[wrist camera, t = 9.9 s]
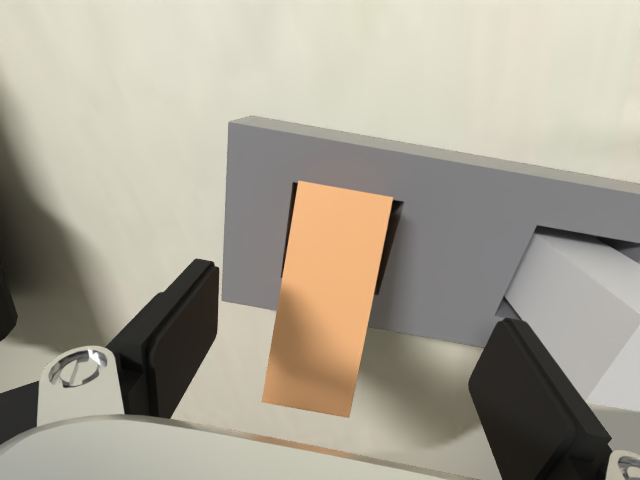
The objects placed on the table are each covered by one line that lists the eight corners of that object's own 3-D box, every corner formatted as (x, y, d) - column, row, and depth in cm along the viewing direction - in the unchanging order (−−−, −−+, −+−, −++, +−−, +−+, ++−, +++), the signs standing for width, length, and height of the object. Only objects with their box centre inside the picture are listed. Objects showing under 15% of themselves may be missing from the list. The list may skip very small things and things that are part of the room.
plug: (393, 197, 14) (349, 417, 15) (378, 198, 18) (344, 372, 19) (298, 180, 14) (261, 402, 15) (304, 185, 18) (275, 360, 19)
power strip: (670, 189, 19) (976, 283, 10) (583, 328, 23) (738, 485, 14) (251, 115, 19) (161, 139, 10) (241, 267, 23) (171, 383, 14)
